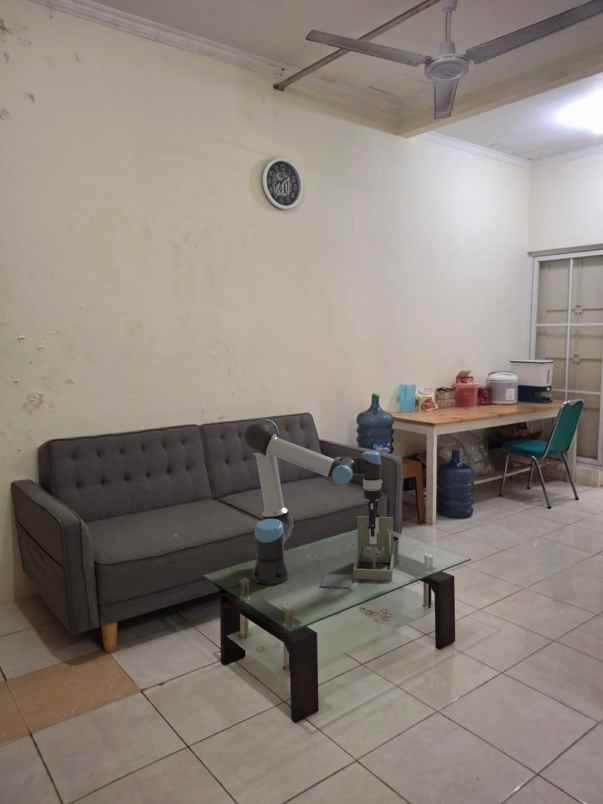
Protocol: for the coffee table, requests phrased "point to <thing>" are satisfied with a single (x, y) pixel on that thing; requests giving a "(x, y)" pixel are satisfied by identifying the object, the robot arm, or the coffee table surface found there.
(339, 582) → the mat
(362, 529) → the case
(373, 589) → the coffee table surface
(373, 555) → the mechanical component
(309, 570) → the coffee table surface
